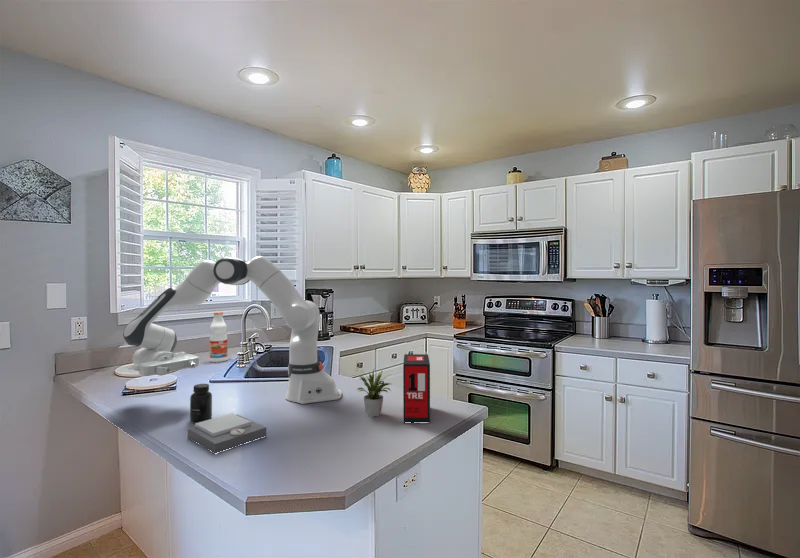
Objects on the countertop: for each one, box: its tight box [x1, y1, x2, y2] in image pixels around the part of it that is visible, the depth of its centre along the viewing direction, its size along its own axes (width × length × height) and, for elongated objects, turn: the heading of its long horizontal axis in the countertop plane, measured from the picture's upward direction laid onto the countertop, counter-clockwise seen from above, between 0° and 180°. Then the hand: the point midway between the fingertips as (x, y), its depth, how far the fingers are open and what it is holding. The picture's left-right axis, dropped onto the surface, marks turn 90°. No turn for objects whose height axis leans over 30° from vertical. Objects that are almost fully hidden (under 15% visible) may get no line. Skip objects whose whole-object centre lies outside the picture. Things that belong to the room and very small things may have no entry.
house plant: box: [351, 369, 392, 417], centre depth 145 cm, size 14×14×16 cm
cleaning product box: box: [402, 353, 431, 424], centre depth 146 cm, size 16×9×20 cm, turn 178°
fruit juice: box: [209, 311, 229, 363], centre depth 236 cm, size 9×9×28 cm
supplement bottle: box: [189, 383, 213, 424], centre depth 142 cm, size 7×7×12 cm
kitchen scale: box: [187, 412, 267, 454], centre depth 126 cm, size 16×18×4 cm
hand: (181, 368), depth 148 cm, fingers open, 8 cm apart
